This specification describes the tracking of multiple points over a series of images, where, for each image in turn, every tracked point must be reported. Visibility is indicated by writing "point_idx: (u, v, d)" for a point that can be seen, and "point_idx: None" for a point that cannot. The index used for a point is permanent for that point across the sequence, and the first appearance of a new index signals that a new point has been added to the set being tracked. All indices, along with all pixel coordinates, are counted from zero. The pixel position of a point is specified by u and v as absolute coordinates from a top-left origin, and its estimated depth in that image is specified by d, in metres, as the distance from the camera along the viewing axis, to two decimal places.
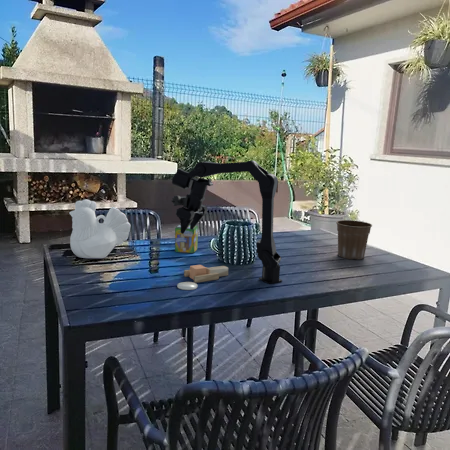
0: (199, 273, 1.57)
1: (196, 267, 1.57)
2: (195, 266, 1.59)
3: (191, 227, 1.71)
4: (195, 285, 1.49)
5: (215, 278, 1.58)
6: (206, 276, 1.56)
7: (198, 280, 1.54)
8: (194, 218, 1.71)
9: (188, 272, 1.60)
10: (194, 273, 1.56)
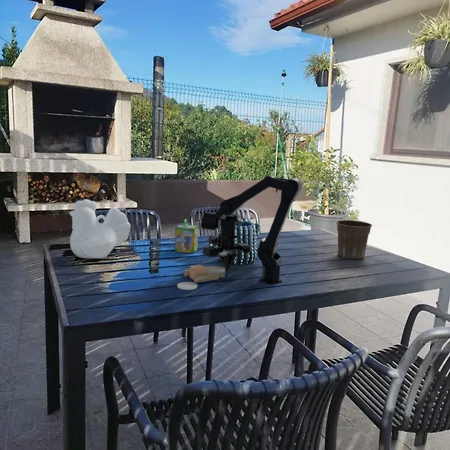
0: (199, 273, 1.57)
1: (196, 267, 1.57)
2: (195, 266, 1.59)
3: None
4: (195, 285, 1.49)
5: (215, 278, 1.58)
6: (206, 276, 1.56)
7: (198, 280, 1.54)
8: None
9: (188, 272, 1.60)
10: (194, 273, 1.56)
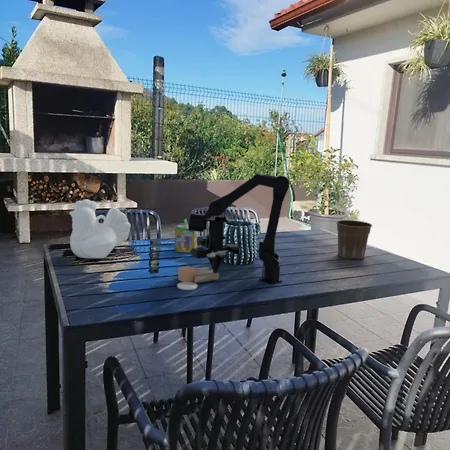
0: (189, 275, 1.54)
1: (185, 268, 1.55)
2: (184, 267, 1.56)
3: None
4: (195, 285, 1.49)
5: (215, 278, 1.58)
6: (206, 276, 1.56)
7: (198, 280, 1.54)
8: None
9: None
10: (184, 275, 1.53)
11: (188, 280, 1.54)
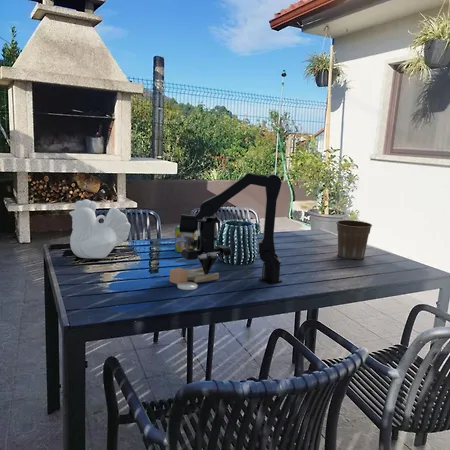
0: (182, 276, 1.52)
1: (178, 270, 1.52)
2: (176, 269, 1.54)
3: None
4: (195, 285, 1.49)
5: (215, 278, 1.58)
6: (206, 276, 1.56)
7: (198, 280, 1.54)
8: None
9: None
10: (177, 277, 1.51)
11: None
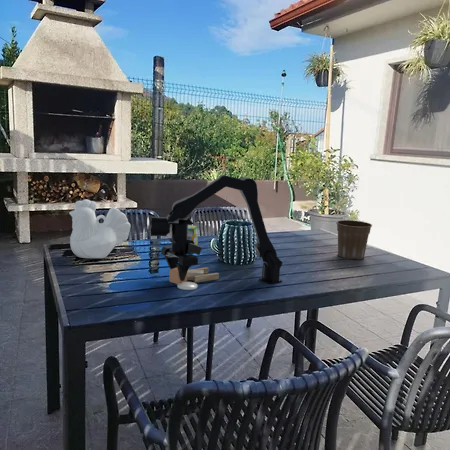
0: None
1: (177, 270, 1.52)
2: (175, 269, 1.54)
3: None
4: (195, 285, 1.49)
5: (215, 278, 1.58)
6: (206, 276, 1.56)
7: (198, 280, 1.54)
8: None
9: None
10: (176, 276, 1.51)
11: (180, 281, 1.52)
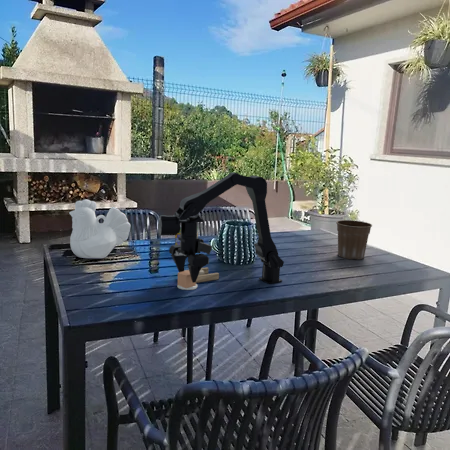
0: (190, 280, 1.46)
1: (185, 273, 1.47)
2: (184, 272, 1.48)
3: None
4: None
5: (215, 278, 1.58)
6: (206, 276, 1.56)
7: (198, 280, 1.54)
8: None
9: None
10: (184, 280, 1.46)
11: (189, 285, 1.46)
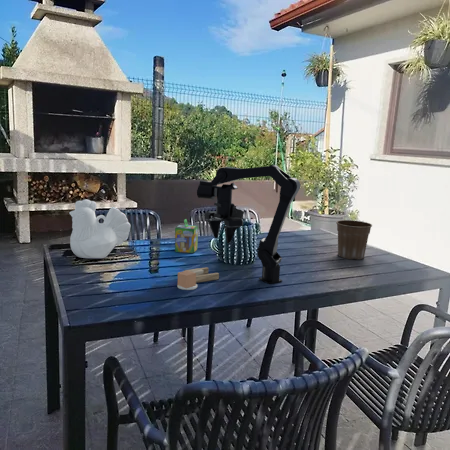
0: (190, 280, 1.46)
1: (185, 273, 1.47)
2: (184, 272, 1.48)
3: None
4: None
5: (215, 278, 1.58)
6: (206, 276, 1.56)
7: (198, 280, 1.54)
8: None
9: None
10: (184, 280, 1.46)
11: (189, 285, 1.46)
